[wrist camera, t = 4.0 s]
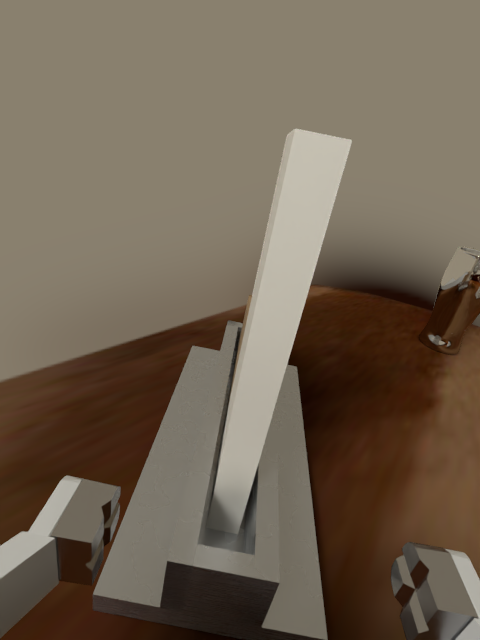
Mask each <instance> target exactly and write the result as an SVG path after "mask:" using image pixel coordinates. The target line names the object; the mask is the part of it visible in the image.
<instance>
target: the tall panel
mask: <svg viewBox="0 0 480 640" xmlns="http://www.w3.org/2000/svg"><path fill="white" fill-rule="evenodd" d="M351 142H352V140H348V139H344V138H338V137H334V136H329V135H324V134H320V133H314V132H310V131H305V130H300V129H294V130H293V131H292V132H290V133H289V134H288V135H287V137H286V141H285V146H284V151H283V155H282V160H281V164H280V170H279V174H278V178H277V183H276V188H275V192H274V197H273V202H272V206H271V211H270V216H269V220H268V225H267V229H266V234H265V238H264V243H263V248H262V253H261V257H260V262H259V266H258V271H257V276H256V280H255V285H254V290H253V294H252V299H251V303H250V308H249V313H248V317H247V322H246V327H245V331H244V336H243V340H242V345H241V350H240V354H239V359H238V364H237V368H236V373H235V378H234V382H233V387H232V391H231V396H230V401H229V405H228V410H227V415H226V419H225V424H224V428H223V433H222V439H221V444H220V450H219V456H218V462H217V467H216V473H215V479H214V485H213V490H212V496H211V502H210V508H209V513H208V519H207V525H206V528H209V529H214V530H219V531H224V532H229V533H234V534H238V532H239V529H240V525H241V522H242V518H243V515H244V511H245V508H246V505H247V501H248V498H249V494H250V491H251V487H252V484H253V480H254V477H255V474H256V470H257V467H258V463H259V460H260V456H261V453H262V449H263V446H264V443H265V439H266V436H267V432H268V429H269V425H270V422H271V418H272V415H273V411H274V408H275V405H276V401H277V398H278V394H279V391H280V387H281V384H282V380H283V377H284V374H285V370H286V367H287V363H288V360H289V356H290V353H291V349H292V346H293V343H294V339H295V336H296V332H297V329H298V325H299V322H300V318H301V315H302V311H303V308H304V305H305V301H306V298H307V294H308V291H309V287H310V284H311V280H312V277H313V274H314V270H315V267H316V263H317V260H318V256H319V253H320V249H321V246H322V243H323V239H324V236H325V232H326V229H327V225H328V222H329V218H330V215H331V211H332V208H333V205H334V201H335V198H336V194H337V191H338V187H339V184H340V180H341V177H342V173H343V170H344V167H345V163H346V160H347V156H348V153H349V149H350V145H351Z"/></svg>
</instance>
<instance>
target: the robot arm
mask: <svg viewBox="0 0 480 640" xmlns="http://www.w3.org/2000/svg"><path fill="white" fill-rule="evenodd" d="M119 496H120V487H119V486H115V485H110V484H105V483H100V482H96V481H91V480H86V479H82V478H77V477H72V476H67V475H66V476H65V477H64V478H63V479H62V480H61V481H60V482H59V484H58V486H57V487H56V489H55V490H54V492H53V493H52V495H51V497H50V498H49V500H48V501H47V503H46V505H45V506H44V508H43V509H42V511H41V512H40V514H39V516H38V517H37V519H36V520H35V522H34V523H33V525H32V527H31V528H30V530H29V531H28V532H24V531H22V532H20V533H19V534H17V535H16V536H14V537H13V538H11V539H10V540H8V541H7V542H5V543H4V544H2V545H1V546H0V638H1V637H2V636H3V635H4V634H5V633H6V632H7V631H8V630H9V629H10V628H12V627H13V626H14V625H15V624H16V623H17V622H18V621H19V620H20V619H21V618H22V617H23V616H24V615H25V614H26V613H28V612H29V611H30V610H31V609H32V608H33V607H34V606H35V605H36V604H37V603H38V602H39V601H40V600H41V599H42V598H44V597H45V596H46V595H47V594H48V593H49V592H50V591H51V590H52V589H53V588H54V587H55V586H56V585H57V584H58V583H59V581H65V582H71V583H77V584H84V585H90V586H92V585H93V582H94V580H95V577H96V575H97V573H98V570H99V568H100V565H101V563H102V561H103V548H104V546H106V545H107V544H108V543H109V542H110V541H111V538H112V536H113V533H114V531H115V527H116V524H117V521H118V516H119V510H120V505H119V504H118V502H117V501H118V499H119ZM402 551H403V554H404V555H403V556H400V557H398V558H396V559H395V561H394V563H393V565H392V570H391V583H392V588H393V592H394V596H395V598H396V599H397V600H398V601H399V603H400V604H401V605H402V607H403V608H402V611H401V614H400V618H401V621H402V625H403V629H404V632H405V636H406V639H407V640H480V580H479V578H478V575H477V573H476V571H475V569H474V567H473V565H472V563H471V561H470V559H469V557H468V556H467V555H466V554H465V553H463V552H460V551H455V550H449V549H444V548H441V547H435V546H430V545H424V544H418V543H413V542H409V543H406V544H405V545H404V547H403V548H402Z"/></svg>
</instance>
